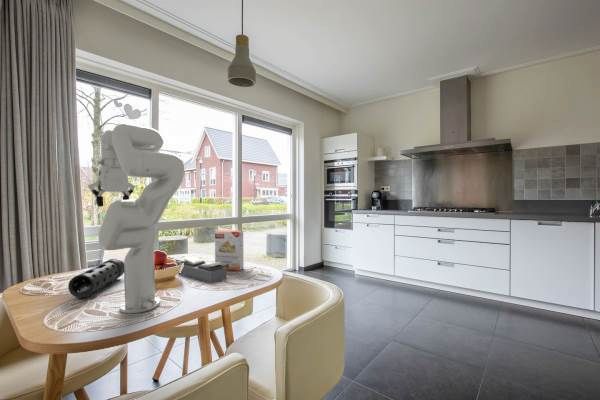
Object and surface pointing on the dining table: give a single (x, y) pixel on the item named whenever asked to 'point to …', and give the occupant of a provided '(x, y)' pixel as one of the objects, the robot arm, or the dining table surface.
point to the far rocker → (192, 260)
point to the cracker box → (229, 249)
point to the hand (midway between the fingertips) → (113, 205)
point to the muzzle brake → (95, 278)
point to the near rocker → (210, 264)
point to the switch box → (204, 272)
